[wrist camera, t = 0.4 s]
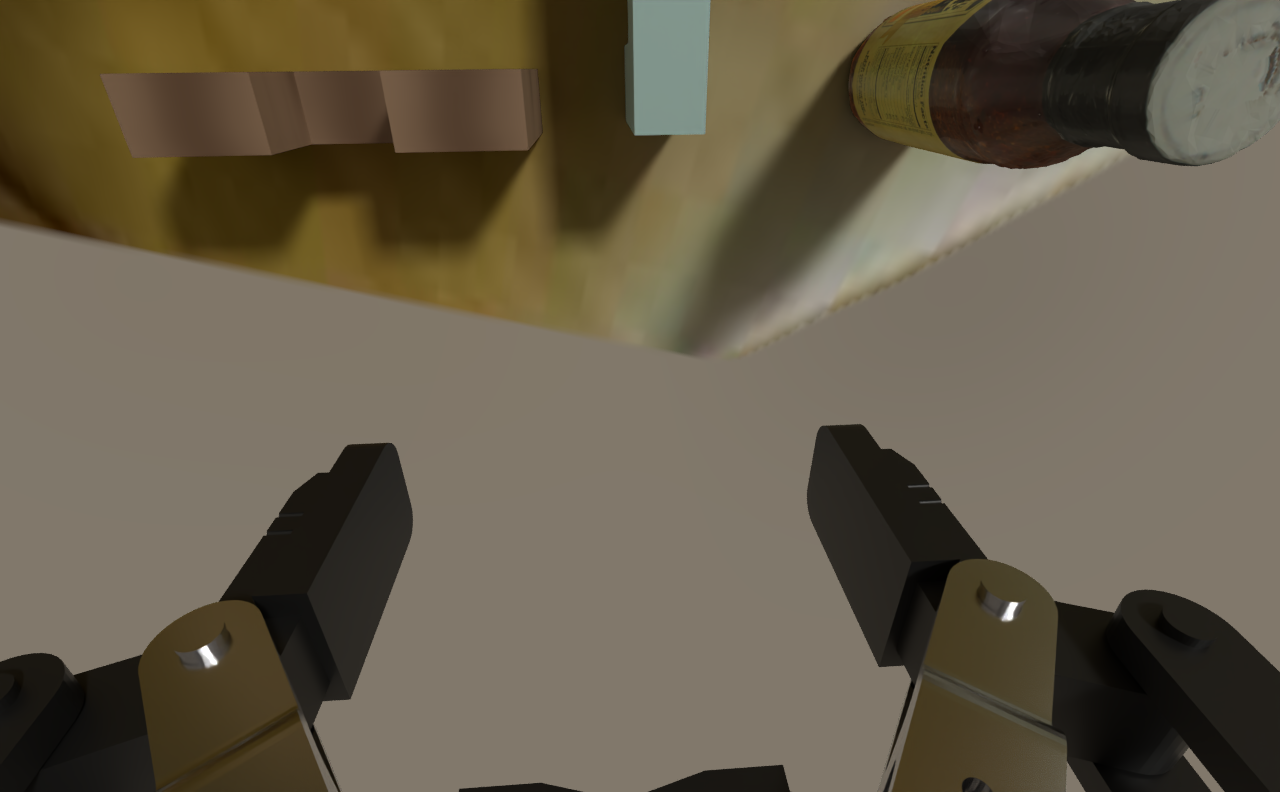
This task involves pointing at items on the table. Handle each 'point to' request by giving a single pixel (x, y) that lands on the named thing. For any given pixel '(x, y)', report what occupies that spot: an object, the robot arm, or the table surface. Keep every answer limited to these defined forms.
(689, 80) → the teal board
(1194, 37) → the sauce bottle
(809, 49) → the table surface
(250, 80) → the walnut u-shaped block
